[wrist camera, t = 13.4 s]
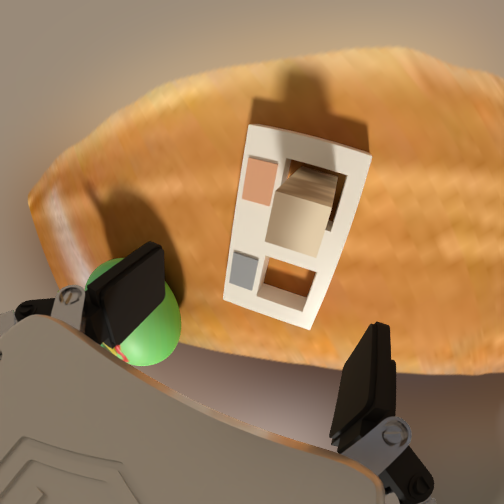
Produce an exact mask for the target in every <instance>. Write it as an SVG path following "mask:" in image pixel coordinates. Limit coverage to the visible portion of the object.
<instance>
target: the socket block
mask: <svg viewBox="0 0 504 504" xmlns="http://www.w3.org/2000/svg"><path fill="white" fill-rule="evenodd" d="M291 159H292V160H296V161H300V162H304V163H307V164H311V165H315V166H318V167H322V168H325V169H328V170H332V171H335V172H338V173H342V174H345V175H346V178H345V182H344V185H343V189H342V192H341V196H340V199H339V202H338V206H337V209H336V212H335V216H334V219H333V221H330V220H328V223H327V226H326V229H325V232H324V236H323V239H322V242H321V245H320V248H319V251H318V254H317V257H316V258H314V257H311V256H308V255H305V254H302V253H299V252H296V251H293V250H290V249H286V248H283V247H280V246H277V245H274V244H271V243H268V242H265V237H266V233H267V228H268V223H269V218H270V214H271V209H272V204H273V199H274V194H275V191H276V190H277V189H278V188H279V187H280V186H281V185H282V184H283V183H284V182H285V181H286V180H287V177H288V173H289V168H290V164H291ZM371 159H372V155H371V154H370V153H369V152H366V151H363V150H360V149H356V148H353V147H350V146H347V145H344V144H340V143H337V142H333V141H330V140H326V139H323V138H319V137H315V136H311V135H307V134H303V133H299V132H295V131H290V130H286V129H281V128H277V127H272V126H267V125H262V124H249V126H248V132H247V138H246V144H245V150H244V157H243V163H242V169H241V175H240V182H239V188H238V195H237V202H236V208H235V215H234V222H233V229H232V236H231V243H230V250H229V257H228V265H227V272H226V280H225V287H224V295H223V300H226V301H229V302H231V303H234V304H237V305H239V306H242V307H245V308H247V309H250V310H253V311H256V312H258V313H261V314H264V315H267V316H270V317H273V318H276V319H278V320H281V321H284V322H287V323H290V324H293V325H296V326H299V327H302V328H305V329H308V330H310V329H311V326H312V324H313V322H314V320H315V317H316V315H317V313H318V310H319V308H320V306H321V303H322V301H323V299H324V296H325V294H326V291H327V289H328V286H329V284H330V281H331V279H332V276H333V274H334V271H335V268H336V266H337V263H338V261H339V258H340V255H341V253H342V250H343V247H344V244H345V242H346V239H347V236H348V233H349V230H350V227H351V224H352V221H353V218H354V215H355V212H356V209H357V206H358V203H359V200H360V197H361V193H362V190H363V187H364V184H365V180H366V177H367V173H368V170H369V166H370V163H371ZM270 257H272V258H275V259H278V260H281V261H284V262H287V263H290V264H293V265H296V266H300V267H303V268H306V269H309V270H312V271H315V272H316V273H315V276H314V279H313V282H312V285H311V287H310V290H309V293H308V296H307V297H303V296H300V295H297V294H294V293H291V292H288V291H285V290H283V289H280V288H277V287H274V286H271V285H268V284H265V283H264V279H265V275H266V270H267V266H268V262H269V258H270Z"/></svg>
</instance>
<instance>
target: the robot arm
mask: <svg viewBox="0 0 504 504" xmlns="http://www.w3.org/2000/svg"><path fill="white" fill-rule="evenodd" d="M164 298H165V270H164V250H163V249H162V247H161V245H159V244H156V243H154V242H151V241H149V242H147V243H146V244H144V245H143V246H141V247H140V248H138V249H137V250H135V251H134V252H133V253H131V254H130V255H128V256H127V257H125V258H124V259H123V260H121V261H120V262H118V263H117V264H116V265H114V266H113V267H111V268H110V269H109V270H107V271H106V272H105V273H103V274H102V275H101V276H99V277H98V278H97V279H95V280H94V281H93V282H91V283H90V284H89V285H87V290H86V291H84V289H83V288H82V287H81V286H78V285H69V286H66V287H64V288H62V289H61V290H60V291H59V292H58V293H57V295H56V298H50V299H38V300H29V301H25V302H23V303H22V304H20V305H19V306H18V307H17V309H16V311H15V312H14V310H11V311H8V312H6V313H3V314H0V504H436V500H435V498H433V499H432V498H431V494H432V491H433V489H434V480H433V477H432V475H431V474H430V473H429V471H428V470H427V469H426V467H425V466H424V465H423V463H422V462H421V461H420V459H419V458H418V457H417V456H416V454H415V453H414V452H413V450H412V449H411V448H410V446H409V443H410V441H411V429H410V427H409V425H408V424H407V423H406V421H404V420H403V419H401V418H399V417H395V411H396V410H395V409H396V362H395V361H394V360H391V342H390V326H389V325H386V324H383V323H380V322H376V323H375V324H370V325H369V327H368V329H367V330H366V332H365V333H364V335H363V337H362V338H361V340H360V342H359V343H358V345H357V346H356V348H355V349H354V351H353V352H352V354H351V355H350V357H349V358H348V360H347V361H346V363H345V365H344V367H343V371H342V377H341V382H340V387H339V393H338V399H337V403H336V408H335V412H334V418H333V421H332V426H331V430H330V434H329V437H330V438H333V439H332V443H331V445H334V446H338V449H337V452H338V453H339V454H338V453H335V452H333V451H329V450H326V449H323V448H319V447H316V446H313V445H309V444H306V443H303V442H299V441H296V440H293V439H290V438H286V437H283V436H281V435H278V434H275V433H272V432H269V431H266V430H263V429H260V428H258V427H255V426H252V425H250V424H247V423H244V422H241V421H239V420H237V419H234V418H232V417H230V416H227V415H225V414H223V413H220V412H218V411H216V410H214V409H211V408H209V407H207V406H205V405H203V404H200V403H198V402H196V401H194V400H192V399H190V398H188V397H186V396H184V395H182V394H180V393H178V392H176V391H175V390H173V389H171V388H169V387H167V386H165V385H163V384H162V383H160V382H158V381H156V380H155V379H153V378H151V377H149V376H147V375H146V374H144V373H142V372H141V371H139V370H137V369H136V368H134V367H133V366H131V365H129V364H128V363H126V362H125V361H123V360H122V359H120V358H118V357H117V356H115V355H114V354H112V353H111V352H109V351H108V350H106V349H105V348H104V347H102V346H101V344H102V343H103V342H104V344H105V345H107V346H108V347H110V348H111V349H113V348H114V347H115V346H116V345H120V344H121V343H122V342H123V341H124V340H125V339H126V338H127V337H128V336H129V335H130V334H131V333H132V332H133V331H134V330H135V329H136V328H137V327H138V326H139V325H140V324H141V323H142V322H143V321H144V320H145V319H146V318H147V317H148V316H149V315H150V314H151V313H152V312H153V311H154V310H155V309H156V308H157V307H158V306H159V305H160V304H161V303H162V302H163V300H164Z"/></svg>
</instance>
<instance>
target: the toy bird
mask: <svg viewBox="0 0 504 504" xmlns="http://www.w3.org/2000/svg"><path fill="white" fill-rule="evenodd" d="M123 259H124V258H116V259H112V260H109V261H107V262H105V263H103V264H101V265H100V266H99V267H97V268H96V269H95V270H94V271H93V273H92V274H91V275H90V277H89V279H88V281H87V283H86V286H85V290H84V291H86V290H87V285H89V284H90V283H91V282H93V281H94V280H95V279H97V278H98V277H99V276H101V275H102V274H103V273H105V272H106V271H107V270H109V269H110V268H111V267H113V266H114V265H116V264H117V263H118V262H120V261H121V260H123ZM58 292H59V291H58ZM180 332H181V316H180V311H179V307H178V304H177V301H176V298H175V296H174V294H173V292H172V291H171V289H170V287H169V286H168V284H167V283H166V282H165V298H164V300H163V302H162V303H161V304H160V305H159V306H158V307H157V308H156V309H155V310H154V311H153V312H152V313H151V314H150V315H149V316H148V317H147V318H146V319H145V320H144V321H143V322H142V323H141V324H140V325H139V326H138V327H137V328H136V329H135V330H134V331H133V332H132V333H131V334H130V335H129V336H128V337H127V338H126V339H125V340H124V341H123V342H122V343H121V344H120V345H116V346H115V347H114V348H113V349H111V348H110V347H108V346H107V345H105V344H104V342H103V343H102V344H101V346H102V347H104V348H105V349H106V350H108V351H109V352H111V353H112V354H114V355H115V356H117V357H118V358H120V359H122V360H123V361H125V362H126V363H128V364H132V365H137V366H148V365H153V364H156V363H159V362H161V361H163V360H164V359H166V358H167V357H168V356H169V355H170V354H171V353H172V352H173V350H174V349H175V347H176V345H177V343H178V341H179V337H180Z"/></svg>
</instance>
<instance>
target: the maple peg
mask: <svg viewBox="0 0 504 504" xmlns="http://www.w3.org/2000/svg"><path fill="white" fill-rule="evenodd" d="M337 179H338V176H335V175H331V174H328V173H325V172H321V171H318V170H314V169H311V168H307V167H303V166H301V167H300V168H299V169H298V170H297V171H296V172H295V173H294V174H293V175H291V176H290V177H289V178H288V179H287V180H286V181H285V182H284V183H283V184H282V185H281V186H280V187H279V188H278V189H277V190H276V191H275V194H274V199H273V204H272V209H271V214H270V218H269V223H268V228H267V233H266V237H265V242H268V243H271V244H274V245H277V246H280V247H283V248H286V249H290V250H293V251H296V252H299V253H302V254H305V255H308V256H311V257H314V258H316V257H317V254H318V251H319V248H320V245H321V242H322V239H323V236H324V232H325V229H326V226H327V223H328V219H329V216H330V213H331V209H332V205H333V200H334V195H335V190H336V185H337Z"/></svg>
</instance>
